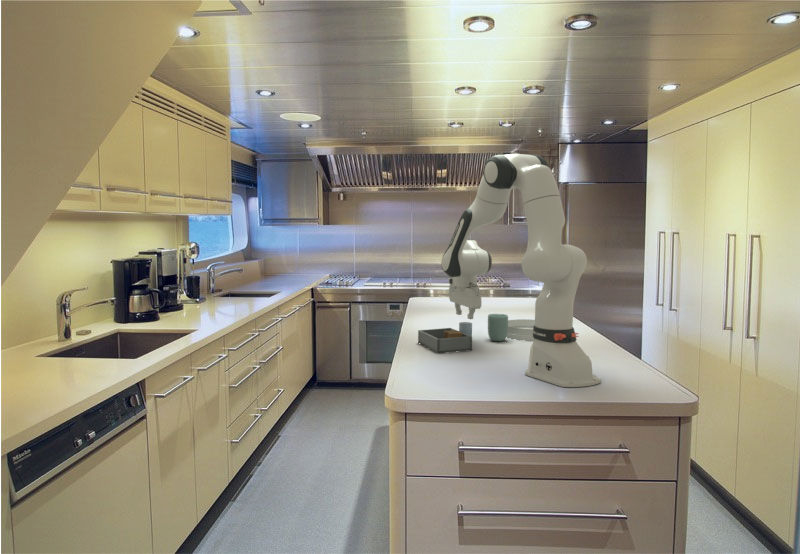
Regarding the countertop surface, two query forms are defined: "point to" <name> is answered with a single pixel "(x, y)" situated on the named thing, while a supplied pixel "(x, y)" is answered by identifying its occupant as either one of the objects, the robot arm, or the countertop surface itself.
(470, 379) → the countertop surface
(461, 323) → the blue cylinder
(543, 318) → the robot arm
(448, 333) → the walnut cube
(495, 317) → the cup
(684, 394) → the countertop surface
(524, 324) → the dish
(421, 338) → the tote
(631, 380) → the countertop surface
